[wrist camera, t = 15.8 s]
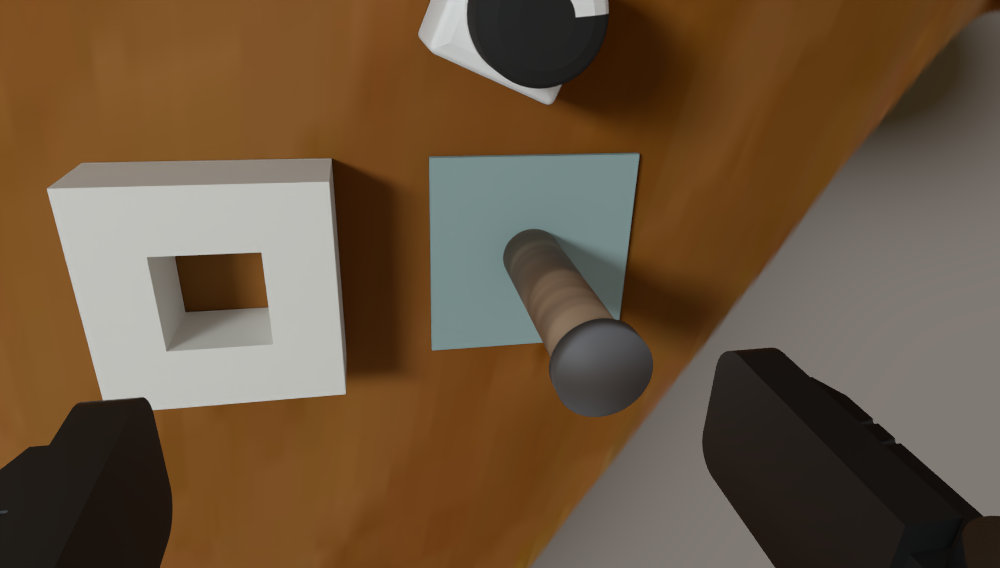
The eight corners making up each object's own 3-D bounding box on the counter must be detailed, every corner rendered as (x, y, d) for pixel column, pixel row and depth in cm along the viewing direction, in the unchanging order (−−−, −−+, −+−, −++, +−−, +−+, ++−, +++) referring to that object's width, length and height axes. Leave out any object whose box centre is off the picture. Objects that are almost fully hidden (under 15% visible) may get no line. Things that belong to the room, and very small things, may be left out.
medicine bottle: (522, 86, 42) (580, 128, 31) (415, 37, 39) (439, 64, 29) (574, -29, 39) (655, -26, 29) (463, -89, 37) (508, -110, 26)
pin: (497, 223, 45) (559, 333, 31) (568, 220, 46) (659, 326, 32) (495, 290, 47) (552, 421, 33) (563, 286, 48) (646, 411, 34)
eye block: (81, 162, 39) (46, 188, 34) (331, 158, 41) (328, 181, 37) (131, 369, 45) (106, 413, 40) (346, 353, 47) (345, 393, 43)
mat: (429, 156, 42) (429, 158, 42) (637, 152, 45) (639, 154, 45) (431, 347, 48) (432, 350, 48) (615, 334, 51) (617, 336, 51)
